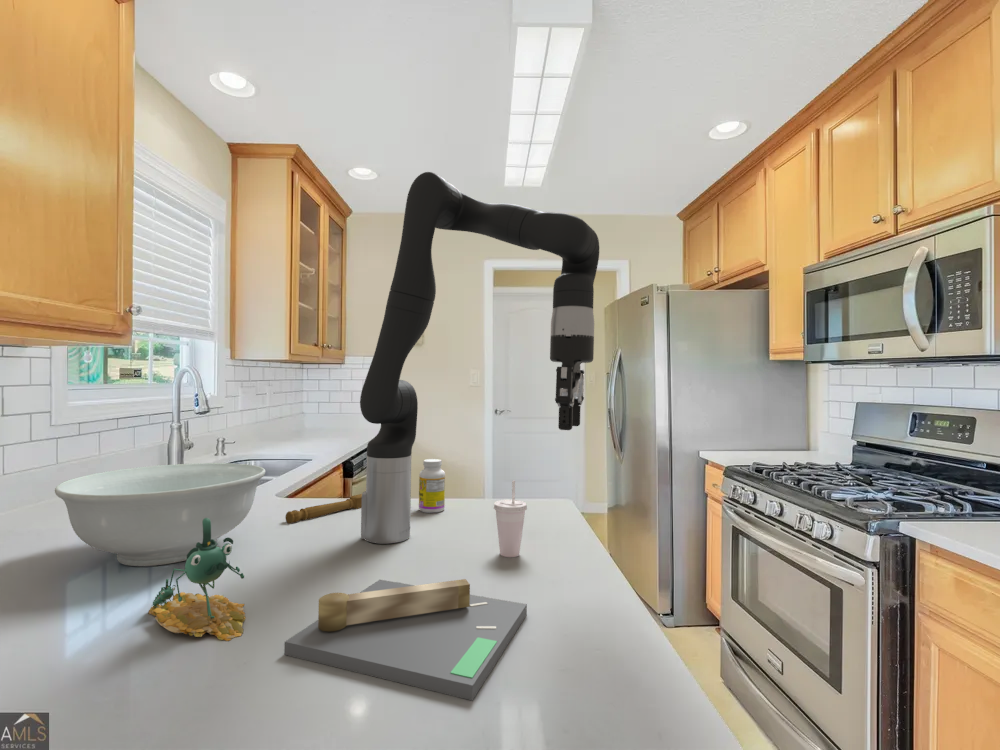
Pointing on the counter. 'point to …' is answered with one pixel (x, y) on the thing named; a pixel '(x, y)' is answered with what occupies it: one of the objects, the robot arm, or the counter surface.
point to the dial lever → (390, 603)
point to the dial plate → (419, 644)
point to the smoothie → (510, 524)
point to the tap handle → (324, 509)
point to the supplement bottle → (432, 487)
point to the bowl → (158, 508)
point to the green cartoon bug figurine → (199, 609)
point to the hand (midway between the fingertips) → (569, 427)
